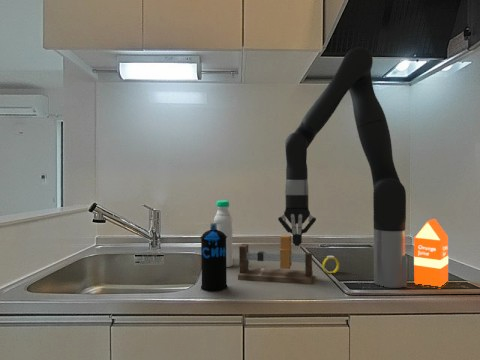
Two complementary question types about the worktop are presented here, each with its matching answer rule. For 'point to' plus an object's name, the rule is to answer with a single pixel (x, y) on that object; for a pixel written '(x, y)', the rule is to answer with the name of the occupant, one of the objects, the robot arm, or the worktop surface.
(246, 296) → the worktop surface
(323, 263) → the watch
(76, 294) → the worktop surface
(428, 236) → the orange juice
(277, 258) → the grey square bar
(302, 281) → the rig
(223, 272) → the aerosol can
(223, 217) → the water bottle
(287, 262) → the collar
